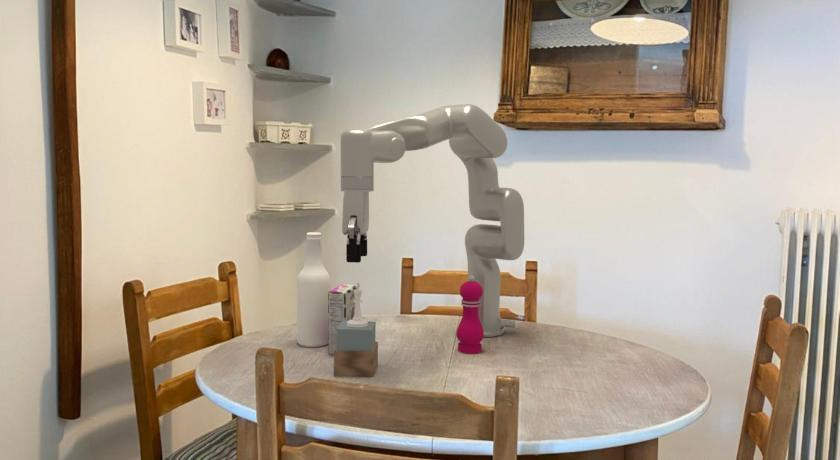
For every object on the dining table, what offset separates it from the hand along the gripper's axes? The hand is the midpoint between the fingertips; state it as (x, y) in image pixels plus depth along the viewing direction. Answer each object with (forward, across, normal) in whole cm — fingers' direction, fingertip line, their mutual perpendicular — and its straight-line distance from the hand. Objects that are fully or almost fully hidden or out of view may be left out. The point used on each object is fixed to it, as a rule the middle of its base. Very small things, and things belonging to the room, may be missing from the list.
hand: (357, 258), depth 149 cm
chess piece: (+16, 0, 0) cm, 16 cm away
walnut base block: (+27, 0, 0) cm, 27 cm away
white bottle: (+27, -22, -15) cm, 38 cm away
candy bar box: (+27, -17, -6) cm, 32 cm away
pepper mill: (+27, -20, +27) cm, 43 cm away
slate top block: (+21, 0, 0) cm, 21 cm away
